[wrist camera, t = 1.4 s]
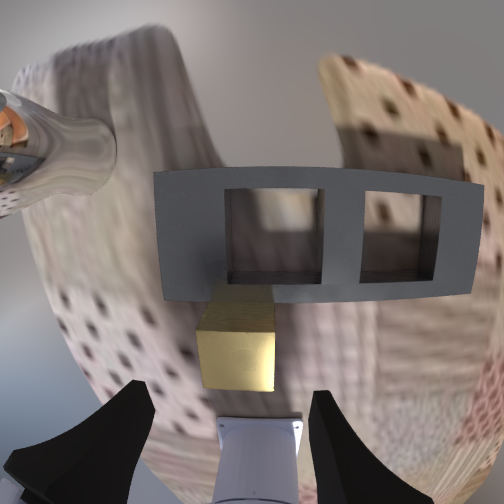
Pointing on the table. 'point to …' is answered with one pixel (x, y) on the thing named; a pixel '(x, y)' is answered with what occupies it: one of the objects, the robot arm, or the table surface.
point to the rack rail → (328, 236)
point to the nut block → (237, 346)
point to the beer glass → (49, 154)
